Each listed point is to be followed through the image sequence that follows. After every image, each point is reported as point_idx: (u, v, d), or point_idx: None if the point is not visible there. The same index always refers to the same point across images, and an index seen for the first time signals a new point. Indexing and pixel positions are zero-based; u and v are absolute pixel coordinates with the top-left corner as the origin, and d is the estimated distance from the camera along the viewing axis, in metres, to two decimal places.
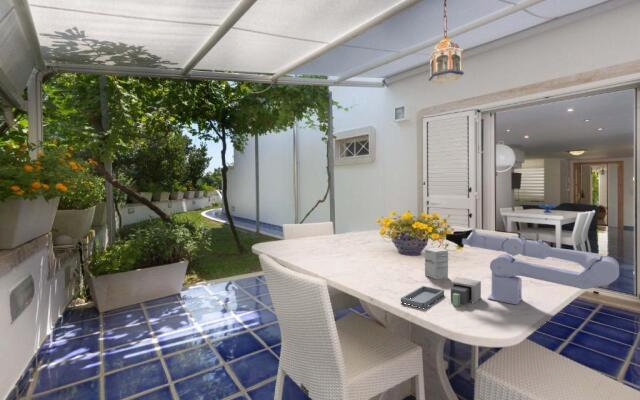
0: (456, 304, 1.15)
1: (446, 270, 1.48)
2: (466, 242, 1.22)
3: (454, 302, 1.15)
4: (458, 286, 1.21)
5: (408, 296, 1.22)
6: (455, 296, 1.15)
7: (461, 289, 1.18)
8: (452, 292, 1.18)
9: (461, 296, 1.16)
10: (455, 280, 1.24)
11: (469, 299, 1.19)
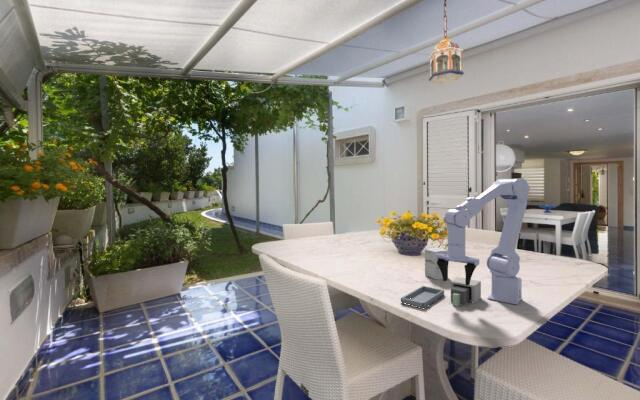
0: (456, 304, 1.15)
1: None
2: (478, 260, 1.10)
3: (454, 302, 1.15)
4: (458, 286, 1.21)
5: (408, 296, 1.22)
6: (455, 296, 1.15)
7: (461, 289, 1.18)
8: (452, 292, 1.18)
9: (461, 296, 1.16)
10: (455, 280, 1.24)
11: (469, 299, 1.19)
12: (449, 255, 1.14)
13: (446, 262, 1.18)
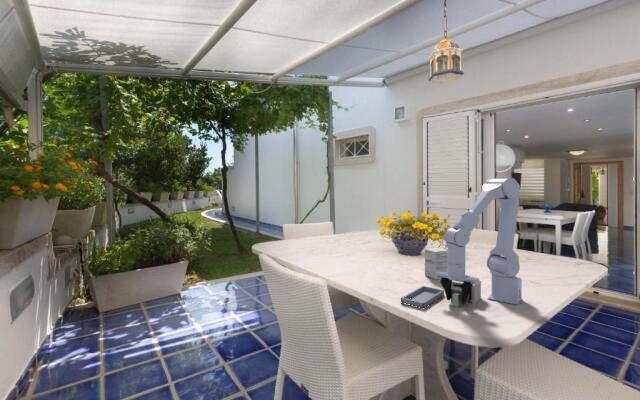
0: (456, 304, 1.15)
1: (446, 270, 1.48)
2: (478, 280, 1.11)
3: (454, 302, 1.15)
4: (458, 286, 1.21)
5: (408, 296, 1.22)
6: (455, 296, 1.15)
7: (461, 289, 1.18)
8: (452, 292, 1.18)
9: (461, 296, 1.16)
10: None
11: (469, 299, 1.19)
12: (449, 274, 1.15)
13: (450, 281, 1.18)
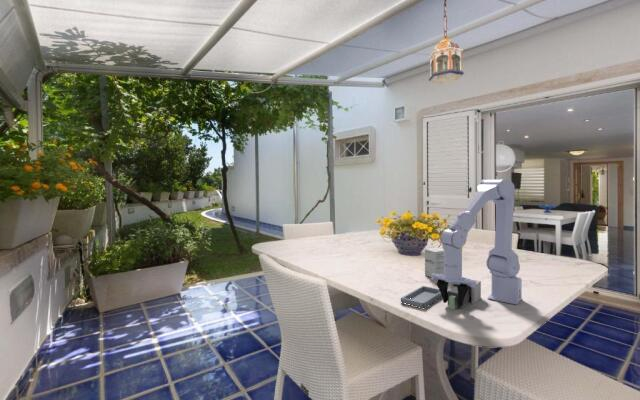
0: (452, 307, 1.13)
1: None
2: (475, 282, 1.08)
3: (450, 305, 1.13)
4: (455, 288, 1.19)
5: (408, 296, 1.22)
6: (451, 299, 1.13)
7: None
8: (448, 294, 1.16)
9: (458, 298, 1.14)
10: None
11: (466, 301, 1.17)
12: (445, 276, 1.12)
13: (446, 283, 1.15)
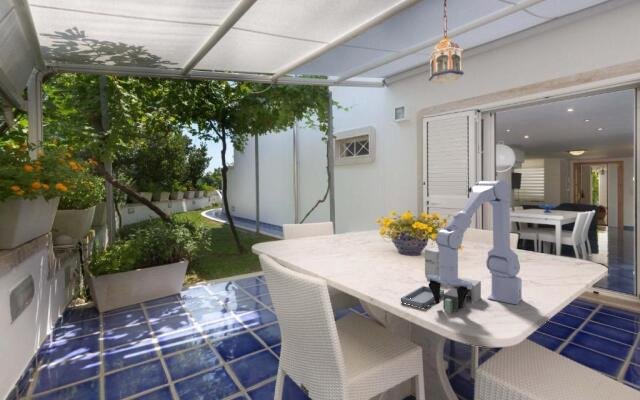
0: (448, 310, 1.10)
1: None
2: (471, 284, 1.06)
3: (446, 308, 1.10)
4: (451, 291, 1.16)
5: (408, 296, 1.22)
6: (447, 302, 1.10)
7: (454, 294, 1.13)
8: (444, 297, 1.13)
9: (454, 302, 1.11)
10: None
11: None
12: (441, 278, 1.10)
13: (438, 284, 1.14)
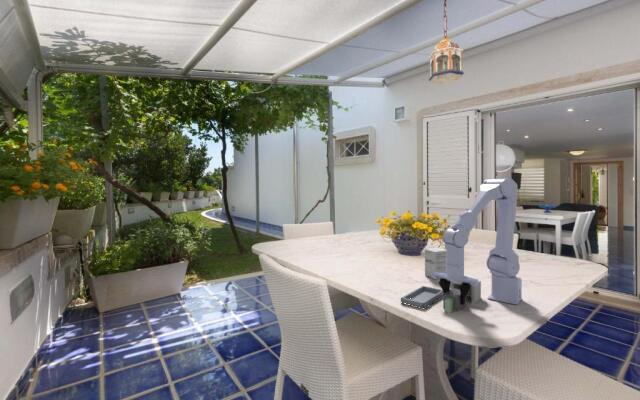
0: (448, 310, 1.10)
1: None
2: (477, 281, 1.10)
3: (446, 308, 1.10)
4: (451, 291, 1.16)
5: (408, 296, 1.22)
6: (447, 302, 1.10)
7: (454, 294, 1.13)
8: (444, 297, 1.13)
9: (454, 302, 1.11)
10: None
11: (462, 305, 1.14)
12: (448, 275, 1.14)
13: (448, 282, 1.17)
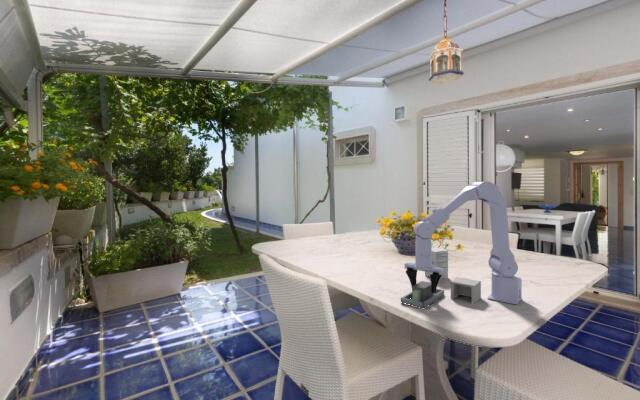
0: None
1: (446, 270, 1.48)
2: (443, 270, 1.18)
3: (414, 299, 1.18)
4: (420, 283, 1.23)
5: (408, 296, 1.22)
6: (414, 293, 1.18)
7: (422, 286, 1.21)
8: (413, 289, 1.21)
9: (421, 293, 1.19)
10: (455, 280, 1.24)
11: (430, 296, 1.22)
12: (416, 265, 1.21)
13: (415, 271, 1.25)
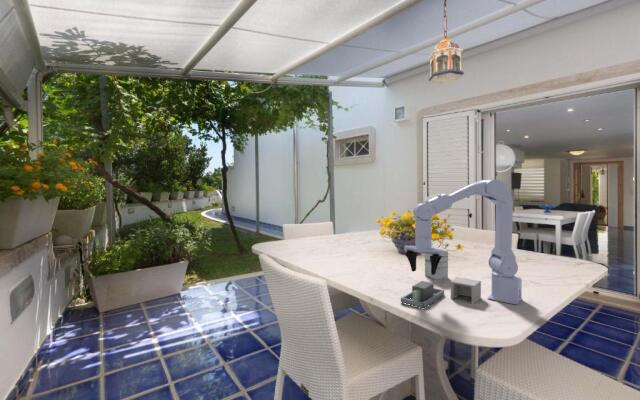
0: None
1: (446, 270, 1.48)
2: (443, 251, 1.17)
3: (414, 299, 1.18)
4: (420, 283, 1.23)
5: (408, 296, 1.22)
6: (414, 293, 1.18)
7: (422, 286, 1.21)
8: (413, 289, 1.21)
9: (421, 293, 1.19)
10: (455, 280, 1.24)
11: (430, 296, 1.22)
12: (416, 247, 1.21)
13: (414, 253, 1.25)
